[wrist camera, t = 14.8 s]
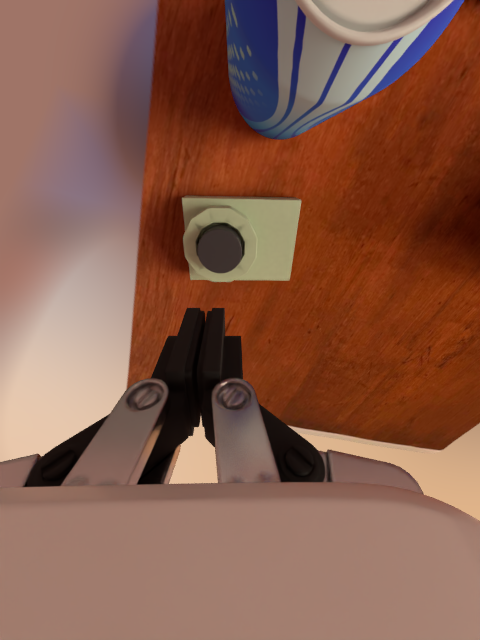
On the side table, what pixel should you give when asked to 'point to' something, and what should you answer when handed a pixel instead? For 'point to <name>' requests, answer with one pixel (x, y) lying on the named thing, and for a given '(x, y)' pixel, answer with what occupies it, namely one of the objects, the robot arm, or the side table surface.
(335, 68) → the beer can
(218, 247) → the lid button
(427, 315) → the side table surface
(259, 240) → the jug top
